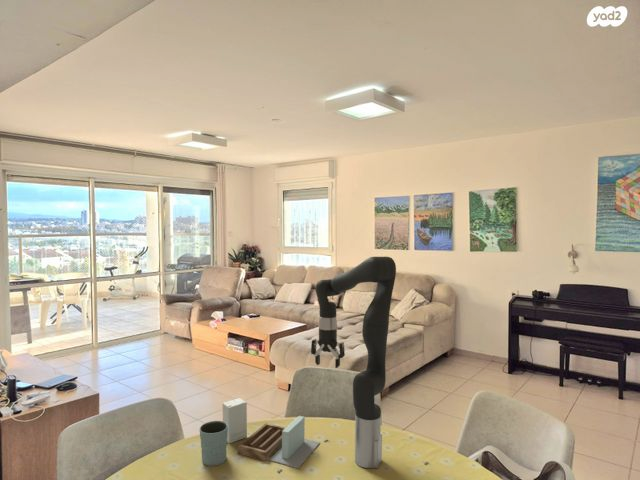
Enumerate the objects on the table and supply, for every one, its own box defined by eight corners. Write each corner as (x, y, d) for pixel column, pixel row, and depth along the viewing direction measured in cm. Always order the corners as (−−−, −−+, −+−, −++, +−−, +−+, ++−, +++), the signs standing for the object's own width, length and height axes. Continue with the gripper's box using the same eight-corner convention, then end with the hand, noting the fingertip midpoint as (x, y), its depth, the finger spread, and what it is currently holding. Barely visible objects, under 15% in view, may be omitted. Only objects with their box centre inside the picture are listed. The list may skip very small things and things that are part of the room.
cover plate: (304, 441, 163) (304, 416, 163) (287, 459, 150) (288, 432, 150) (298, 440, 164) (298, 415, 164) (281, 457, 151) (282, 431, 151)
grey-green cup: (220, 468, 145) (220, 434, 144) (194, 465, 147) (194, 431, 147) (232, 453, 155) (232, 421, 154) (207, 450, 157) (207, 419, 156)
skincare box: (240, 432, 171) (240, 396, 171) (247, 437, 166) (247, 401, 166) (221, 438, 166) (222, 401, 166) (228, 444, 161) (228, 406, 161)
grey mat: (319, 443, 163) (319, 442, 163) (298, 468, 145) (298, 467, 145) (292, 437, 167) (292, 436, 167) (268, 460, 150) (268, 459, 150)
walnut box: (291, 436, 168) (291, 428, 168) (265, 460, 150) (265, 452, 150) (265, 430, 173) (265, 423, 173) (238, 453, 155) (238, 445, 155)
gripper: (308, 327, 171) (308, 366, 171) (340, 330, 165) (340, 371, 165) (315, 323, 177) (315, 361, 178) (347, 327, 172) (346, 365, 172)
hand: (327, 365), depth 171 cm, fingers open, 8 cm apart
